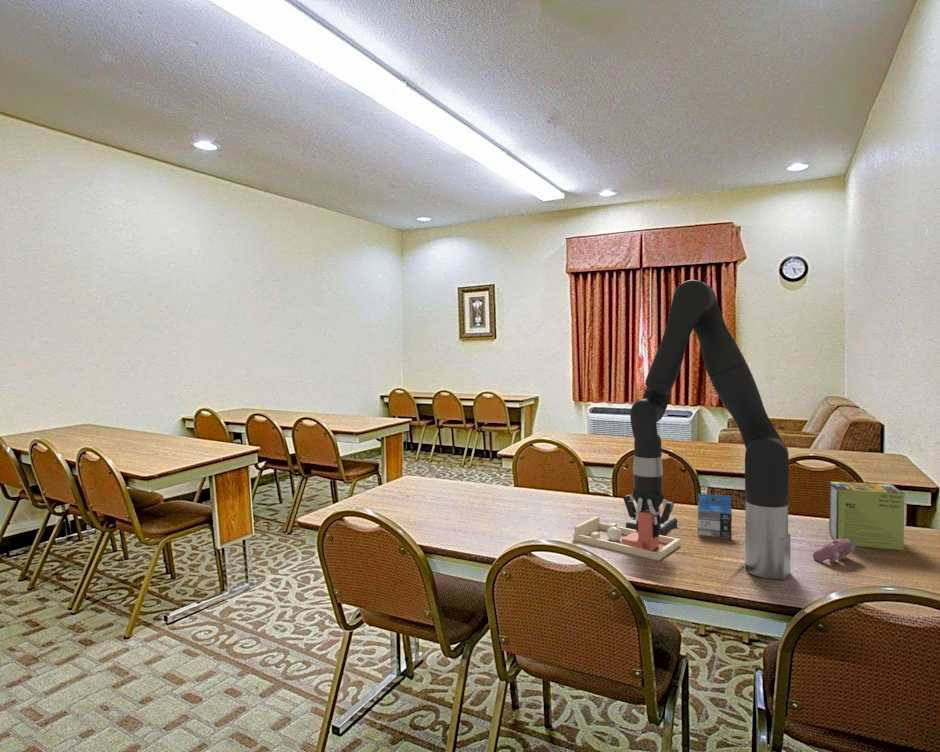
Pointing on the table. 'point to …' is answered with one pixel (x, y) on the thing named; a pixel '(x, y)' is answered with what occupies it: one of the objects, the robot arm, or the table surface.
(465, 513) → the table surface
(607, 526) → the pitch
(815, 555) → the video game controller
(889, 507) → the protein box
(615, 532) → the ball
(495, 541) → the table surface
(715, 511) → the label tape cartridge
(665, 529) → the calculator
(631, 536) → the block
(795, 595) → the table surface
